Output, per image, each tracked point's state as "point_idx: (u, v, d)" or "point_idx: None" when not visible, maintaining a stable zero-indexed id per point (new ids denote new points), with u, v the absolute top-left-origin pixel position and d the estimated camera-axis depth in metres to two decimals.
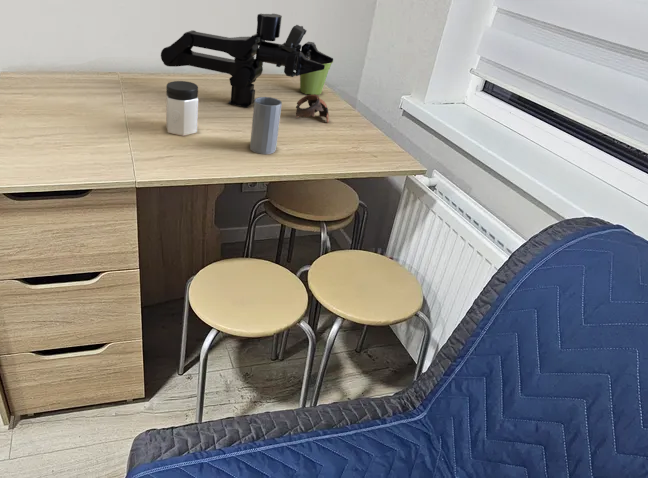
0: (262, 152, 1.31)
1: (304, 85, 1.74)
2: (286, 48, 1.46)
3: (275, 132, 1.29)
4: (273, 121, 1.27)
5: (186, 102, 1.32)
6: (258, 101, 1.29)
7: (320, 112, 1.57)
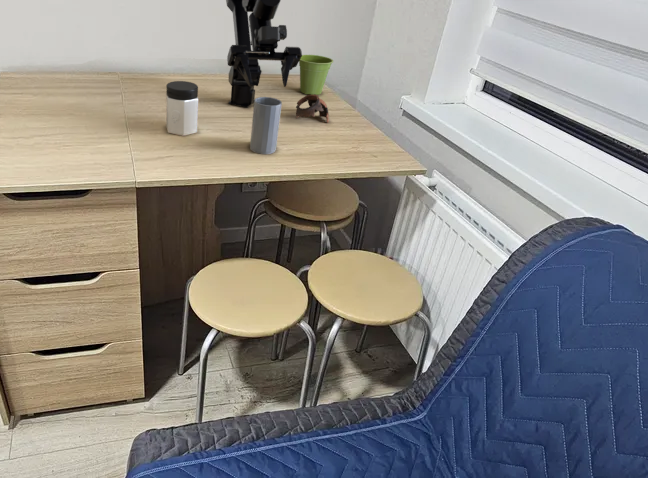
0: (262, 152, 1.31)
1: (304, 85, 1.74)
2: (254, 37, 1.32)
3: (275, 132, 1.29)
4: (273, 121, 1.27)
5: (186, 102, 1.32)
6: (258, 101, 1.29)
7: (320, 112, 1.57)
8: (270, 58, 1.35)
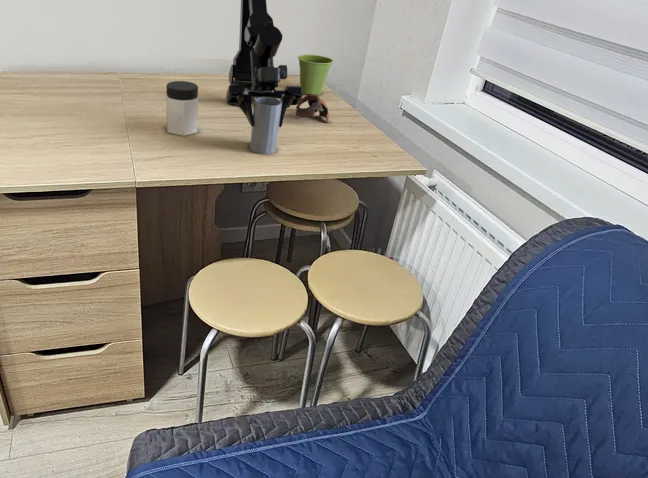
0: (262, 152, 1.31)
1: (304, 85, 1.74)
2: (254, 75, 1.28)
3: (275, 132, 1.29)
4: (273, 121, 1.27)
5: (186, 102, 1.32)
6: (258, 101, 1.29)
7: (320, 112, 1.57)
8: None
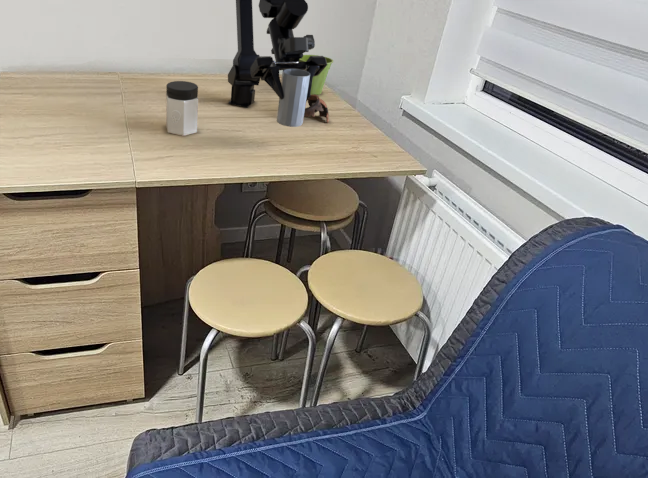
0: (292, 124, 1.29)
1: None
2: (279, 47, 1.26)
3: (304, 104, 1.28)
4: (304, 92, 1.26)
5: (186, 102, 1.32)
6: None
7: (320, 112, 1.57)
8: (291, 68, 1.29)
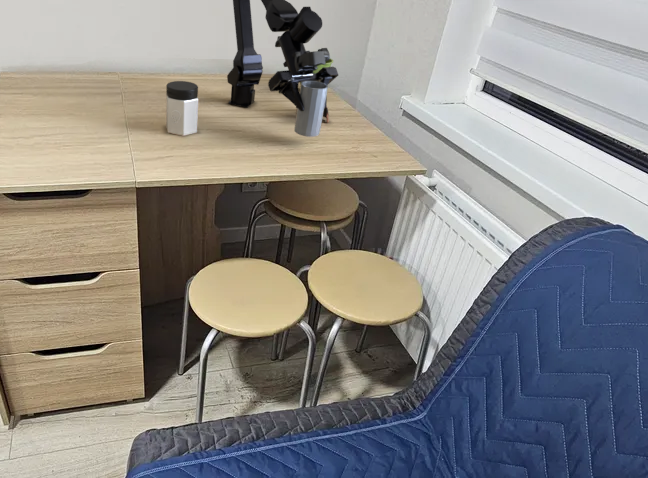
0: (312, 134, 1.34)
1: None
2: (295, 61, 1.30)
3: (322, 114, 1.33)
4: (323, 103, 1.31)
5: (186, 102, 1.32)
6: None
7: None
8: (306, 80, 1.34)
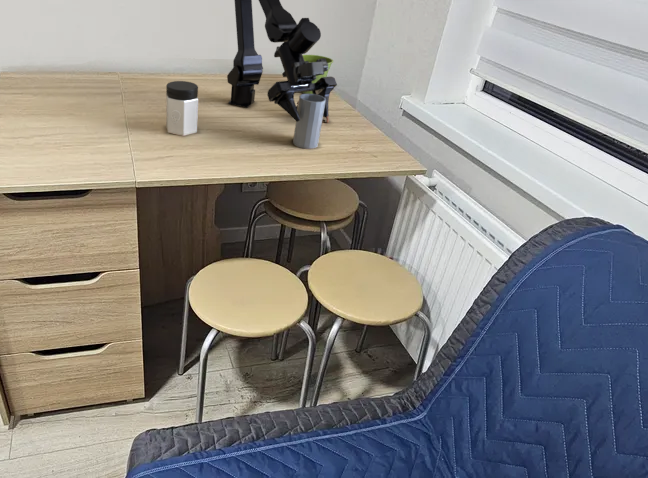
0: (311, 146, 1.36)
1: None
2: (294, 71, 1.32)
3: None
4: (321, 116, 1.33)
5: (186, 102, 1.32)
6: None
7: None
8: (308, 90, 1.35)
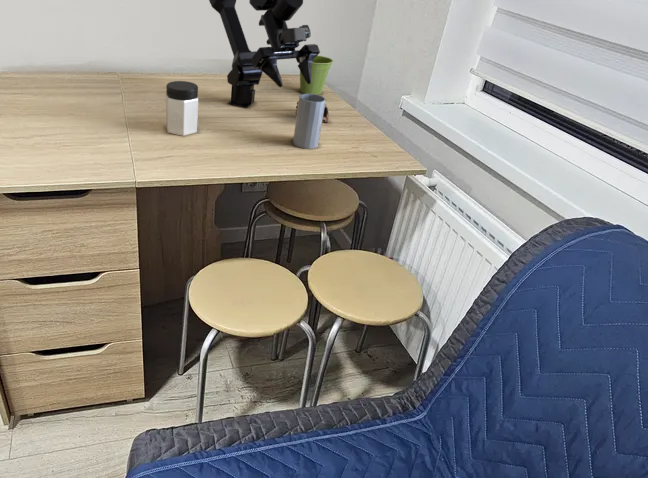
0: (311, 146, 1.36)
1: (304, 85, 1.74)
2: (277, 38, 1.35)
3: None
4: (321, 116, 1.33)
5: (186, 102, 1.32)
6: None
7: None
8: (291, 57, 1.38)
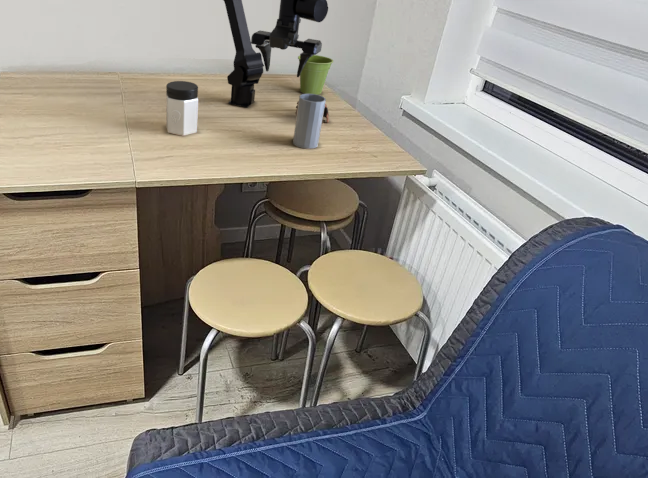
0: (311, 146, 1.36)
1: (304, 85, 1.74)
2: None
3: None
4: (321, 116, 1.33)
5: (186, 102, 1.32)
6: None
7: None
8: None
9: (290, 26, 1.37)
